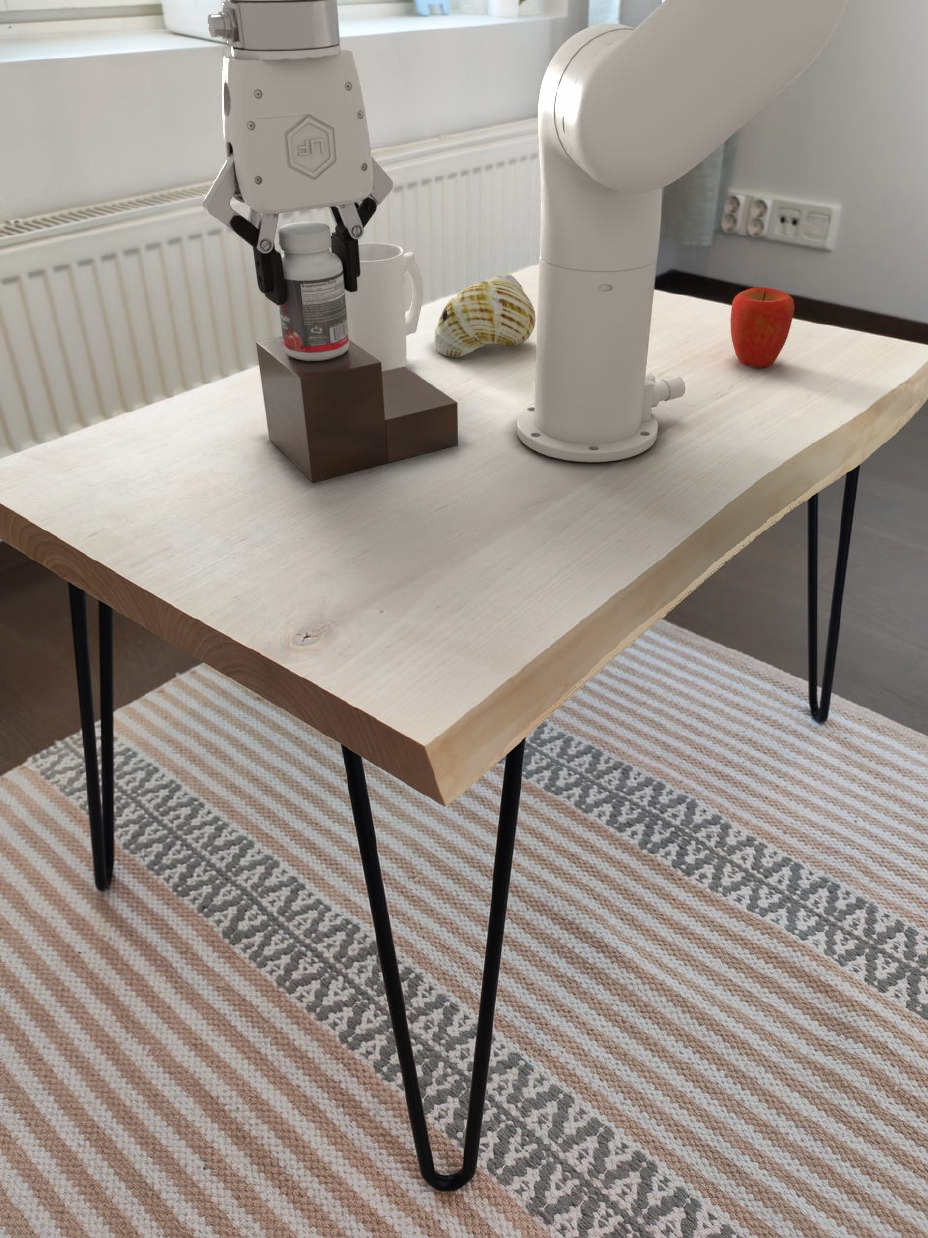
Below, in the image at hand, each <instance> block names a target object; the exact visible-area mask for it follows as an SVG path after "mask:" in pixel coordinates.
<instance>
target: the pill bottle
mask: <svg viewBox="0 0 928 1238" xmlns="http://www.w3.org/2000/svg"><path fill="white" fill-rule="evenodd" d="M277 233H278V245H279V247H280V249H281V251H282V252H283V254H281V256H282V264H283V273H284V282H285V290H286V299H287V302H285V304H284V305H279V306H278V311H279V319H280V327H281V328H280V329H281V336H282V337H283V343H284V350H285V352H286V353H287V355H289V356H290V357H293V358H295V359H299V360H305V361H322V360H328V359H332V358H335V357H338V356H340V355H342V354H344V353H345V352H346V351H347V350H348V348H349V336H348V323H347V312H346V300H345V287H344V283H345V282H344V275H343V266H342V262H341V260H340V258H339V257H338V256H337V255H336V254H334V253H332V252H331V251H330V249H331V246H332V244H331V243H332V240H331V236H332V233H331V228H330V226H329V224H327V223H324V222H318V221H297V222H291V223H286V224H284V225H281V226H280V227H279V228H278V230H277Z"/></svg>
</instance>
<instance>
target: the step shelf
mask: <svg viewBox="0 0 928 1238" xmlns="http://www.w3.org/2000/svg"><path fill="white" fill-rule="evenodd" d="M255 345H256V353H257V360H258V368H259V374H260V375H259V376H260V382H261V389H262V396H263V404H264V411H265V412H264V413H265V419H266V425H267V432H268V439H269V440H270V441H271V442H272V443H273V444H274V445H275V446H276V447H277V448H278V449H279V450H280V451H281V453H283V454H284V455H285V457H286V458H287V459H288V460H289V461H290V462H291V463H292V464H293V465H295V467H296V468H297V469H298V470H299V471H300V472H301V473H302V474H303V475H304V476H305V477H306V479H308V480H309V481H311V483H317V482H321V481H325V480H328V479H331V478H332V479H333V478H336V477H340V476H344V475H347V474H351V473H355V472H358V471H363V470H366V469H367V470H368V469H371V468H375V467H378V466H382V465H386V464H388V463H393V462H397V461H400V460H404V459H408V458H411V457H415V456H418V455H423V454H427V453H430V452H434V451H439V450H442V449H446V448H450V447H455V446H458V445H459V414H458V412H459V411H458V409H459V408H458V407H459V405H458V402H457V401H456V400H455V399H453V398H452V397H450V396H449V395H447V394H446V393H445V392H443V391H442V390H441V389H439V388H437V387H436V386H434V385H433V384H431V383H430V382H428V381H427V380H425V379H424V378H422V377H421V376H420V375H418V374H416V373H415V372H414V371H412V370H411V369H410V368H408V367H400V368H396V369H391V370H386V371H382V365H381V362H380V361H379V360H378V359H376V358H375V357H373V356H372V355H370V354H369V353H368V352H366V351H365V350H363V349H362V348H361V347H359V346H358V345H356V344H355V343H353V342H352V341H351V340H349V348H348V350H347V351H346V352H345V353H344V354H342V355H340V356H338V357H335V358H332V359H328V360H322V361H305V360H299V359H295V358H293V357H290V356H289V355H287V353H286V352H285V350H284V343H283V337H282V335H281V336H277V337H272V338H267V339H261V340H256V341H255Z"/></svg>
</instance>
